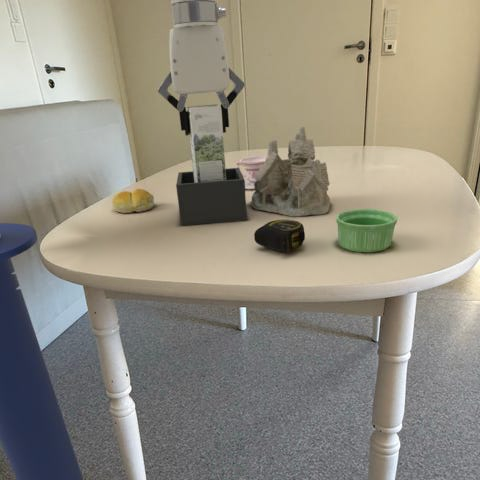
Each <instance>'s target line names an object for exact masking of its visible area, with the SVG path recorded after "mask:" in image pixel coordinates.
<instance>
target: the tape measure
mask: <svg viewBox="0 0 480 480" xmlns="http://www.w3.org/2000/svg"><path fill="white" fill-rule="evenodd" d="M253 237H254V242H255V243H256V244H257V245H259V246H262V247H264V248H268V249H272V250H273V251H275V252H276V251H278V252H282V253H288V252H290V251H291V250H294V249H298V248H300V247H301V246H302V245H303V243H304V242H305V239H306V234H305V227H304V224H303V223H302V222H300V221H297V220H293V219H276V220H271V221H268V222H266V223H265V224H264V225H262V226H260V227H259V228H257V229H256V230H255V231H254V233H253Z"/></svg>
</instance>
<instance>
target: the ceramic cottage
mask: <svg viewBox="0 0 480 480" xmlns="http://www.w3.org/2000/svg"><path fill="white" fill-rule="evenodd" d="M305 128H306V127H304V126H300V127H299V128H298V132H296V133H295V136H294V139H290V140H289V142H288V148H287V158H286V159H282V158H281V157H280V155H279V149H278V141H277V140H276V139H269V141H268V145H267V156H268V157H267V158H266V159H265V160H266V161H264V164H263V165H262V166H261V167H260V170H259V171H258V172H257V173H256V175H254V176H253V177H254V178H255V180H256V182H255V183H254V186H255V188H254V189H253V190H254V192H253V193H252V196H251V202H250V206H251V208H254V209H255V210H258V211H259V210H260V211H264V212H267V213H268V212H269V213H276V214H279V215H280V214H281V215H284V216H289V217H305V216H310V215H315V216H316V215H324V214H328V212H329V211H330V207H331V204H330V200H331V199H330V196H329V194H328V190H329V186H330V179H329V174H328V168H327V163H326V161H325V162H321V160H320V159H316V155H315V154H316V149H315V145H314V140H313V138H312V139H307V134H306V129H305Z"/></svg>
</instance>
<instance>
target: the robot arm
mask: <svg viewBox="0 0 480 480" xmlns="http://www.w3.org/2000/svg"><path fill="white" fill-rule="evenodd" d="M170 7H171V16H172V17H171V18H172V26H173V28H170V29H169V41H168V42H169V46H168V48H169V64H170V65H169V66H170V71H169V73H168V74H167V76H166V77H165V79H164V80H163V81H162V83H161V84H160V86H159V87H158V88H157V93H158V94H159V95H160V96H161V97H163V98H164V100H166V101H167V102H168V103H169V104H170V105H171V106H172V107H174V109H176V110H177V112H178V114H179V123H180V131H184V134H185V136H189V123H188V114H187V107H186V103H187V98H188V95H194V94H207V93H208V94H209V93H216V96H217V97H218V100H219V101H220V108H221V111H222V126H223V134H224V133H225V134H226V133H227V130H226V129H227V128H230V119H229V108H230V106H231V105H232V103H233V102H234V101H235V99H236V98H237V97H238V96H239V94H240V93H241V92H242V90H243V89H244V88H245V86H246V85H245V82H244V81H243V80H242V79H241V78H240V77H239V76H238V75H237V74H236V73H235V72H234V71H233V70H232V69H231V68H230V66H229V58H228V51H227V46H226V38H225V33H224V28H223V26H222V25H219V23H218V22H219V21H220V19H222V18H226V17H227V10H226V7H221V6H219V5H217V0H170ZM230 81H231V82H232V83H233V84H234V87H232V89H231V91H230V92H229V93H228V95H226V93H225V91H227V89H229V87H230ZM171 85H172V89H173V91H174V92H175V93H177V94H179V98H178V99H177V98H176V97H175V96H174V95H173V94H171V93H170V92H169V88H170V86H171ZM0 238H1V235H0Z"/></svg>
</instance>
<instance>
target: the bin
mask: <svg viewBox="0 0 480 480" xmlns="http://www.w3.org/2000/svg"><path fill="white" fill-rule="evenodd" d="M239 168H240V167H239ZM239 168H237V167H231V168H225V170H226V180H223V181H210V182H198V183H194V175H193V170H192V171H180V172H179V171H178V174H177V178H176V184H175V187H176V195H177V203H178V211H179V218H180V226H193V225H205V224H216V223H217V224H218V223H228V222H239V221H247V220H248V217H247V216H248V215H247V199H246V197H247V196H246V189H245V180H244V179H245V177H243V176H242V174H241V172H242V171H241V168H240V169H239Z"/></svg>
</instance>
